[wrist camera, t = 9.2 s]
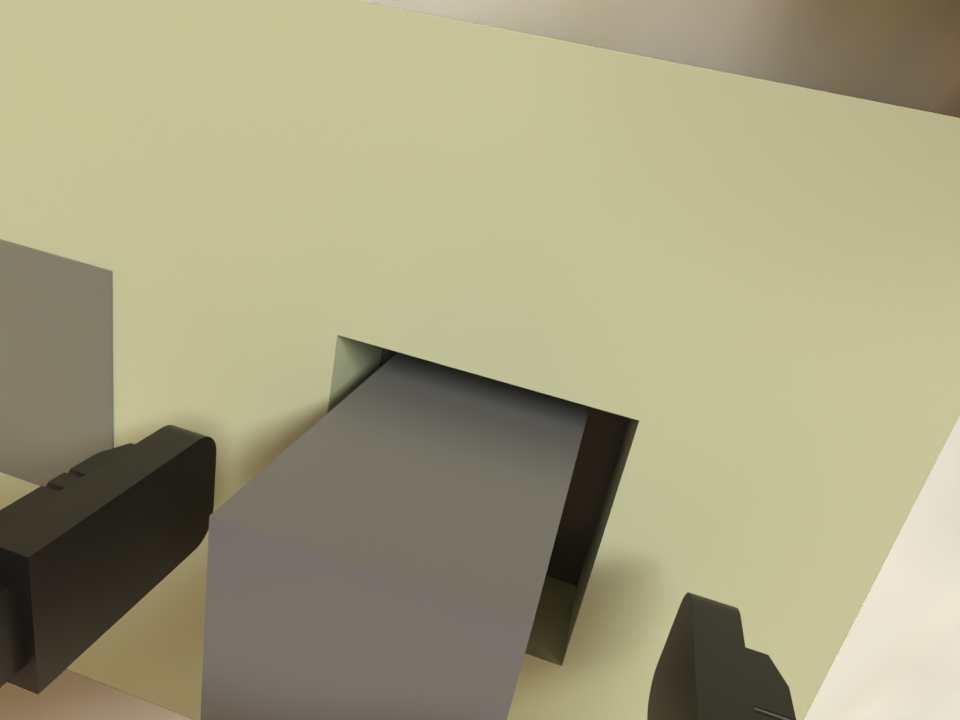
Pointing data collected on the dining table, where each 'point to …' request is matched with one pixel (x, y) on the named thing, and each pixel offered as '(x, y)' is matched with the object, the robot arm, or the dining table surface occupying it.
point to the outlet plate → (485, 299)
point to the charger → (390, 554)
